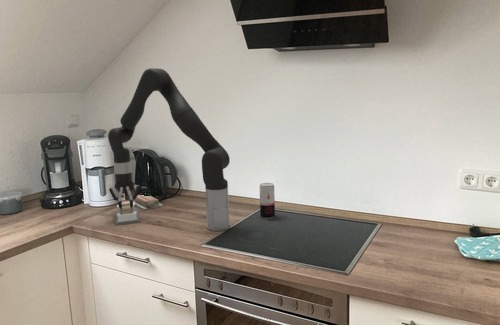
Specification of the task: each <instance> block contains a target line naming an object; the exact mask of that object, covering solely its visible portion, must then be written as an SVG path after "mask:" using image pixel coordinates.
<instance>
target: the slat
mask: <svg viewBox="0 0 500 325" xmlns="http://www.w3.org/2000/svg"><path fill="white" fill-rule="evenodd" d="M121 201H122V214H130V213H131V208H130V200H121Z"/></svg>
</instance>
